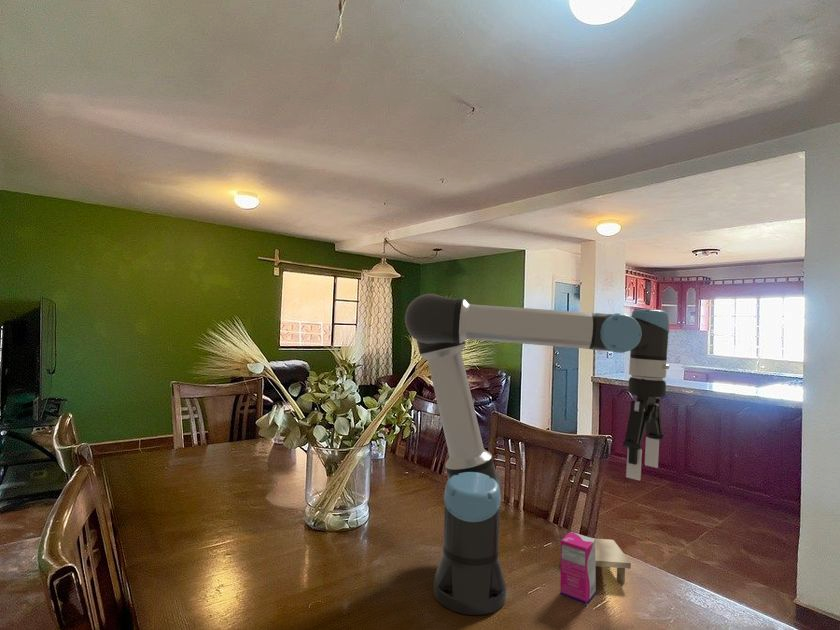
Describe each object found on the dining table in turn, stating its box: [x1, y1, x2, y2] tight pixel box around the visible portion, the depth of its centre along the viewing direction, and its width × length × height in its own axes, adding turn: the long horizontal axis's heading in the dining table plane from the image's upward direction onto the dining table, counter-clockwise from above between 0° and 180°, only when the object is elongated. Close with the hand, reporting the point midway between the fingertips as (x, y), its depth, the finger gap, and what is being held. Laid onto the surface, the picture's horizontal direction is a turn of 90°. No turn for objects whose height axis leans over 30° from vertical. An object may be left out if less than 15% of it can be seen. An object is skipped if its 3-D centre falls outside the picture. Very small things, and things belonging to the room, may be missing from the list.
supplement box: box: [560, 531, 597, 605], centre depth 96 cm, size 6×6×12 cm
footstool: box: [594, 538, 632, 585], centre depth 106 cm, size 11×11×5 cm
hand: (642, 472), depth 102 cm, fingers open, 13 cm apart
